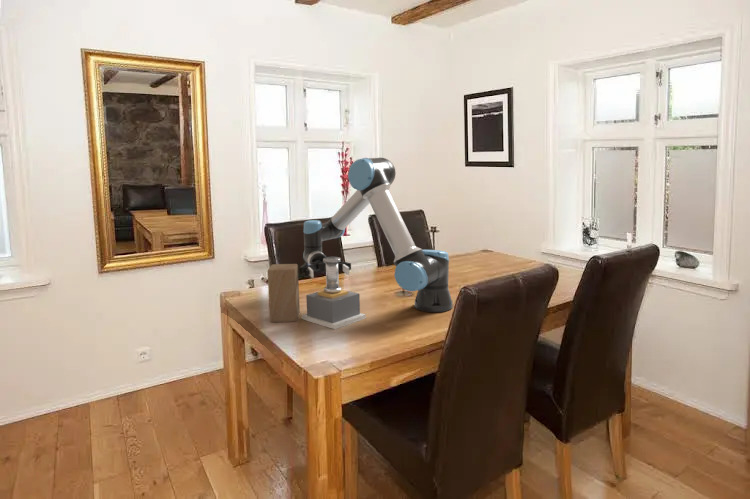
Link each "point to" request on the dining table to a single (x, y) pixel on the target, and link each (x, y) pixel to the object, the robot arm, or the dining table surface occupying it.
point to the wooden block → (283, 292)
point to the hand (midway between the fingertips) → (330, 272)
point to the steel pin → (332, 274)
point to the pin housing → (333, 308)
